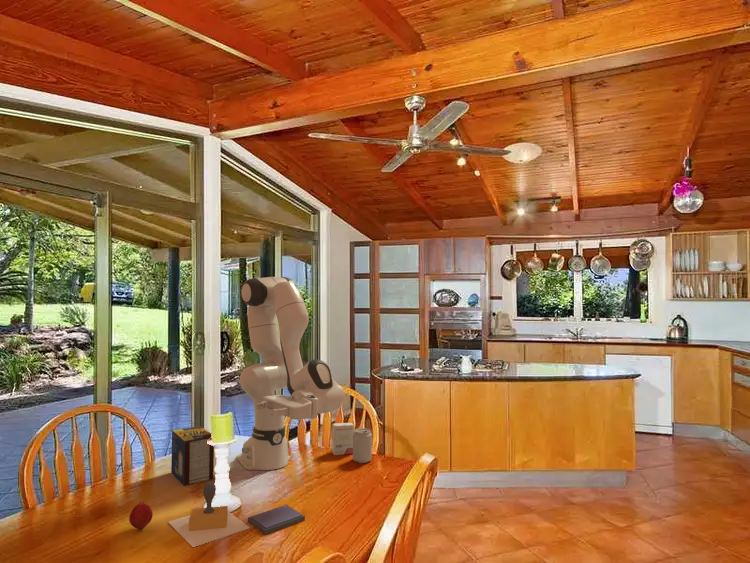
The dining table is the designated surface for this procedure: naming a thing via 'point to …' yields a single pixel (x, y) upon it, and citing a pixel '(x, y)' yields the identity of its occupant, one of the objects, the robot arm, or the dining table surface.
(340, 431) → the ink box
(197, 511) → the rubber stamp
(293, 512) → the ink pad
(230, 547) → the dining table surface
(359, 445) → the can
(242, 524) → the paper
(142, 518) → the onion
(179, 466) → the protein box
